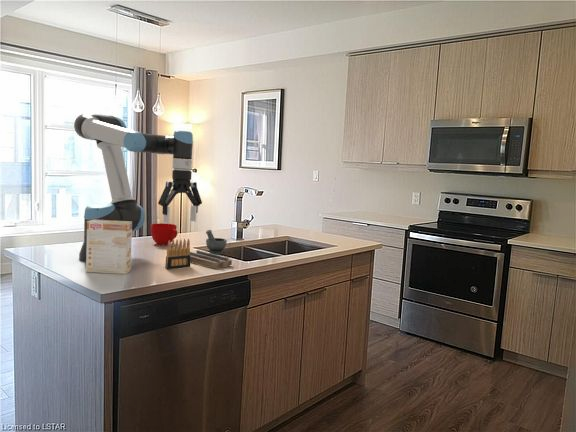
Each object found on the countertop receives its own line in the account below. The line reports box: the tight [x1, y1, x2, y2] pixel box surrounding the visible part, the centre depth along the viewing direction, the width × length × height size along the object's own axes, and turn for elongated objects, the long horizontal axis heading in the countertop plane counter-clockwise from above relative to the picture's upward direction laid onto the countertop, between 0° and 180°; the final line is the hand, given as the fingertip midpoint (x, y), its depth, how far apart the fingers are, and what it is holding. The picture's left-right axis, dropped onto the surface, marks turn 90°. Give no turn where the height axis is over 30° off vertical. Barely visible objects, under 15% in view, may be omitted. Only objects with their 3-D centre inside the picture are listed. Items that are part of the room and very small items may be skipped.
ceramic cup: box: [150, 222, 178, 246], centre depth 240 cm, size 13×17×10 cm
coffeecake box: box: [85, 219, 133, 275], centre depth 177 cm, size 15×7×20 cm, turn 92°
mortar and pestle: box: [205, 229, 228, 256], centre depth 225 cm, size 11×9×12 cm
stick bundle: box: [190, 249, 233, 270], centre depth 204 cm, size 10×20×4 cm, turn 51°
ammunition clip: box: [164, 238, 191, 270], centre depth 191 cm, size 11×2×12 cm, turn 133°
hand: (180, 222), depth 189 cm, fingers open, 13 cm apart
